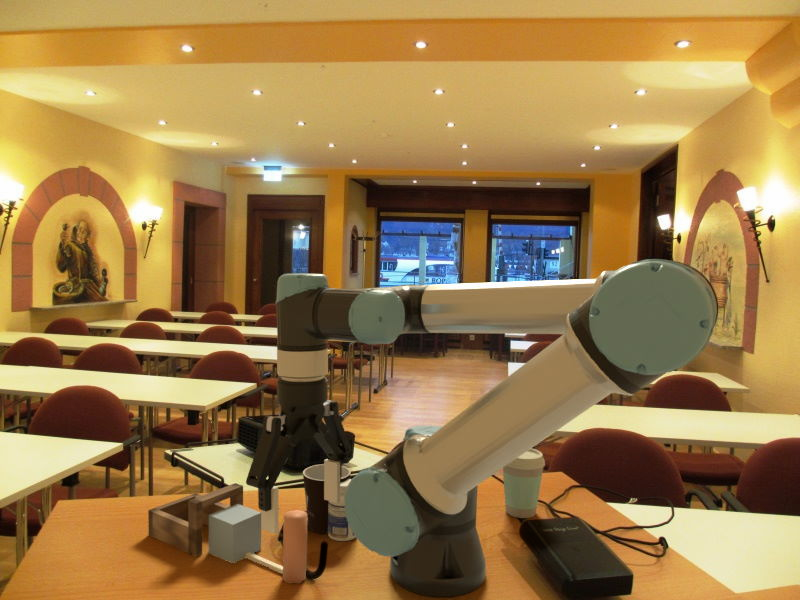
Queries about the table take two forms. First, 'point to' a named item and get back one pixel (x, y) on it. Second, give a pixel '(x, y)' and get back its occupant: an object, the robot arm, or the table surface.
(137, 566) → the table surface
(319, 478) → the coffee mug
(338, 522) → the pill bottle
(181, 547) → the wooden frame
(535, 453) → the coffee cup
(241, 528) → the lopsided dumbbell
